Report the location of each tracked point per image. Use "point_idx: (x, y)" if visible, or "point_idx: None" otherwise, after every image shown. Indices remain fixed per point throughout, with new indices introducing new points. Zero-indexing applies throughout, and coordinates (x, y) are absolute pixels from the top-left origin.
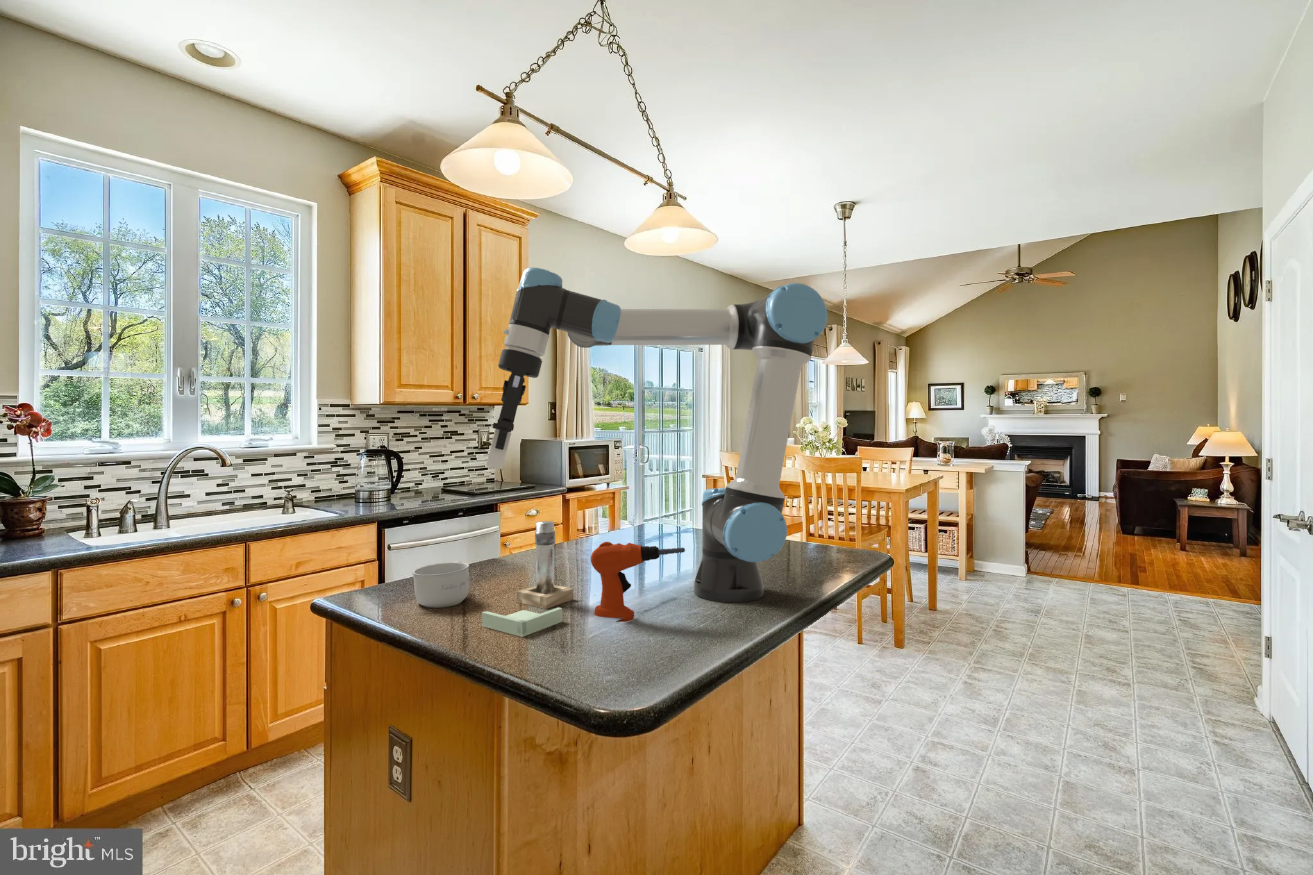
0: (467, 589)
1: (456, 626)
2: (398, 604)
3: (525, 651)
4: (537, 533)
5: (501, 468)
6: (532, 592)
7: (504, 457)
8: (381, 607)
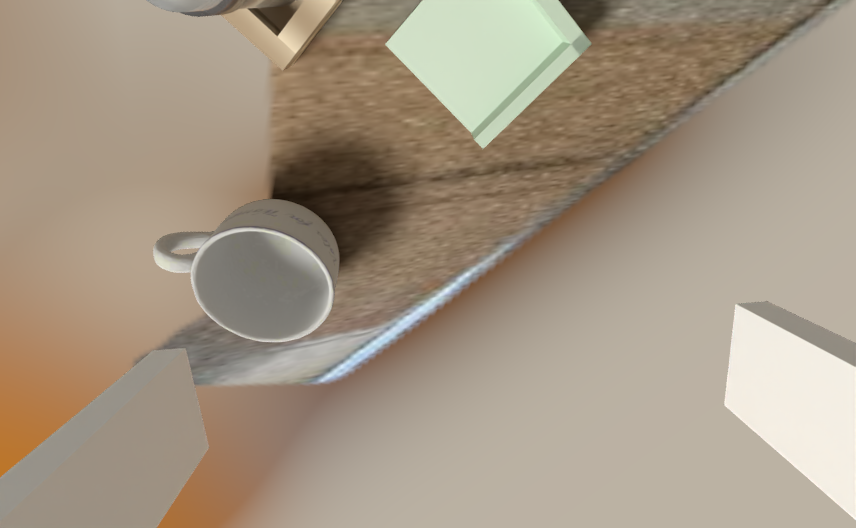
0: (283, 204)
1: (438, 193)
2: None
3: (642, 29)
4: (229, 3)
5: (769, 307)
6: (298, 19)
7: (849, 343)
8: (294, 344)
